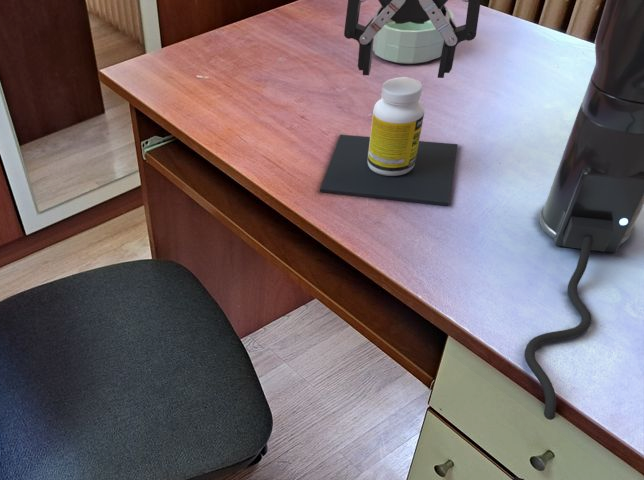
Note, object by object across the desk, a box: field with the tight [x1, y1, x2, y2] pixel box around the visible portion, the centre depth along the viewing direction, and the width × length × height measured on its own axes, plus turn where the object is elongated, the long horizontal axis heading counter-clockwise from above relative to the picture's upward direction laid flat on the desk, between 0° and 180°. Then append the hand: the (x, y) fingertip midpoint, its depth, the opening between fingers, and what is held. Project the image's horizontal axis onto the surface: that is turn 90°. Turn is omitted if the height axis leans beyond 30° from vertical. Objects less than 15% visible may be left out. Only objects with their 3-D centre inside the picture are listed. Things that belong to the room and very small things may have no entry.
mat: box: [319, 134, 459, 207], centre depth 88 cm, size 14×16×1 cm
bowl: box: [372, 7, 455, 65], centre depth 109 cm, size 12×12×6 cm
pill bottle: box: [368, 76, 425, 176], centre depth 84 cm, size 6×6×11 cm
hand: (403, 74), depth 78 cm, fingers open, 8 cm apart
